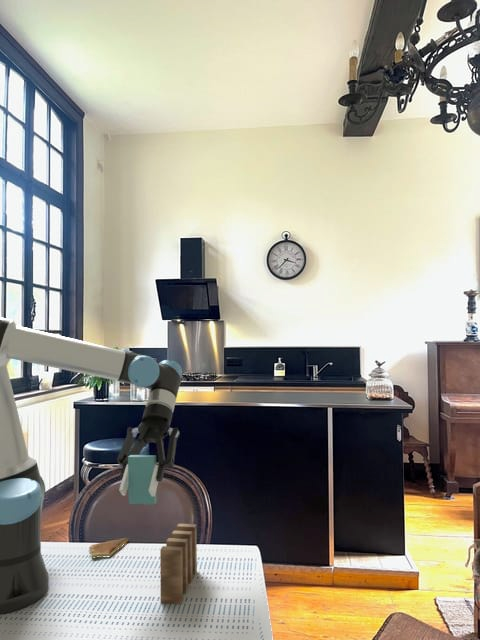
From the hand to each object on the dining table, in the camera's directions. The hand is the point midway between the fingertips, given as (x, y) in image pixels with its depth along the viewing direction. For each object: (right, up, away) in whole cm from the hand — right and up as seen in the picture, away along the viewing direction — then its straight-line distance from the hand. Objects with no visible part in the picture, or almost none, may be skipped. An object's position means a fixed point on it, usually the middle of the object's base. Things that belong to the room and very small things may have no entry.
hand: (136, 493), depth 102 cm
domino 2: (+11, -20, +4) cm, 24 cm away
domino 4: (+10, -20, -4) cm, 23 cm away
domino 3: (+10, -20, 0) cm, 23 cm away
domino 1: (+1, -4, +3) cm, 5 cm away
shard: (-12, -22, +17) cm, 30 cm away
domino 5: (+9, -20, -8) cm, 23 cm away
